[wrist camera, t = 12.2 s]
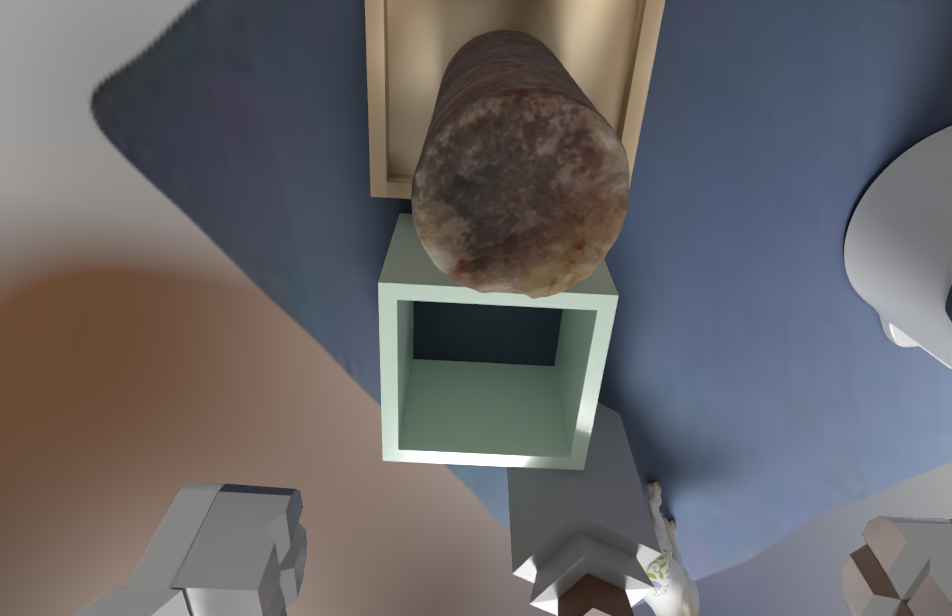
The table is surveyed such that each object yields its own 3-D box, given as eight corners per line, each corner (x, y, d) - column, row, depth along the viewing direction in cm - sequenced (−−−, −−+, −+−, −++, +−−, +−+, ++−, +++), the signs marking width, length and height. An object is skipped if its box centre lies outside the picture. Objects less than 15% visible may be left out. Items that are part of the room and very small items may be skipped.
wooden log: (475, -3, 34) (470, 46, 17) (589, 58, 35) (692, 162, 18) (421, 122, 37) (369, 271, 20) (526, 174, 39) (563, 352, 22)
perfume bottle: (553, 377, 48) (587, 579, 33) (619, 413, 50) (682, 621, 35) (505, 432, 51) (516, 641, 36) (569, 464, 53) (606, 677, 38)
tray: (657, -25, 34) (669, -23, 32) (617, 197, 41) (624, 211, 39) (371, -44, 34) (363, -43, 32) (376, 183, 40) (370, 196, 38)
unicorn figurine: (682, 580, 61) (729, 727, 49) (551, 480, 54) (570, 624, 43) (744, 545, 58) (809, 692, 47) (614, 437, 51) (653, 577, 40)
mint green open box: (590, 224, 42) (618, 295, 33) (565, 377, 48) (583, 470, 40) (399, 213, 41) (378, 282, 33) (400, 368, 48) (382, 460, 39)
